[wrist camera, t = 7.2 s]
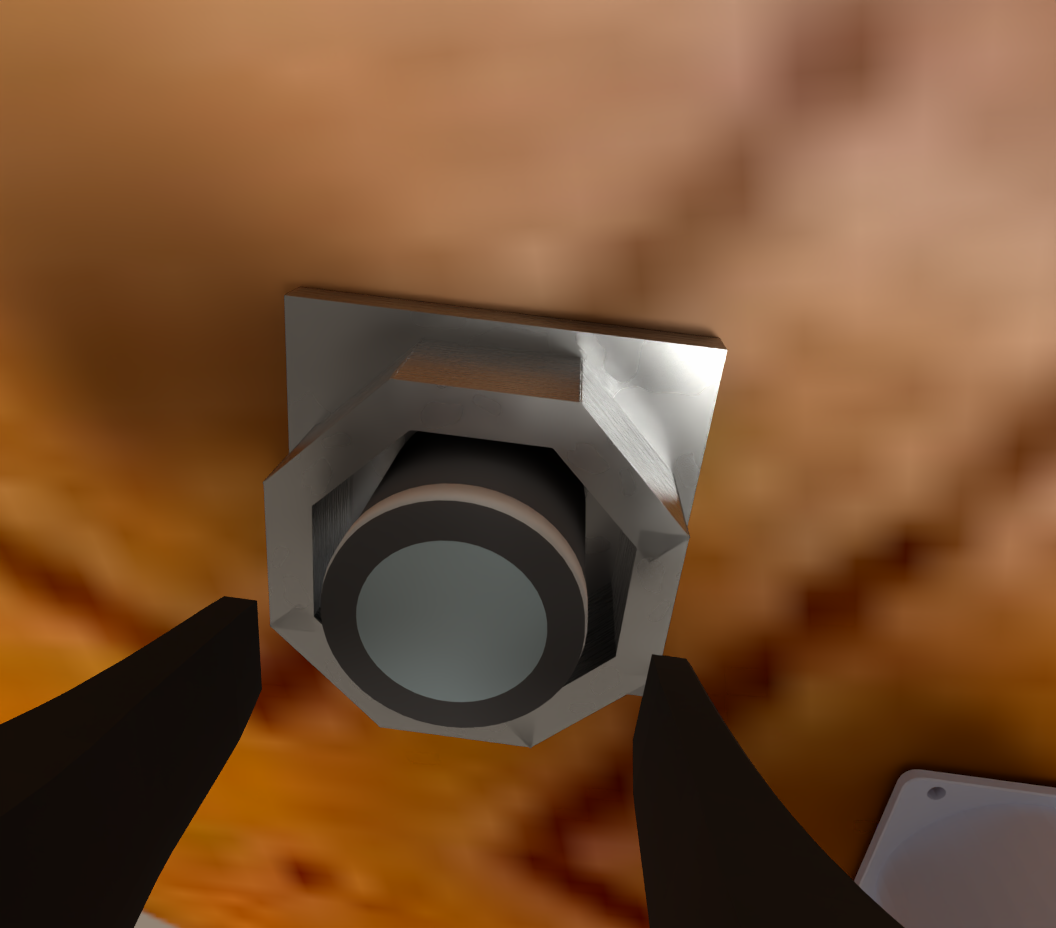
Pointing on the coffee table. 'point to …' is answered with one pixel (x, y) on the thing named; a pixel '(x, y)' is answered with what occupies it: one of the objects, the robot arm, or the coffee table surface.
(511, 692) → the lens
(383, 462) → the mount
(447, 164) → the coffee table surface
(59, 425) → the coffee table surface
